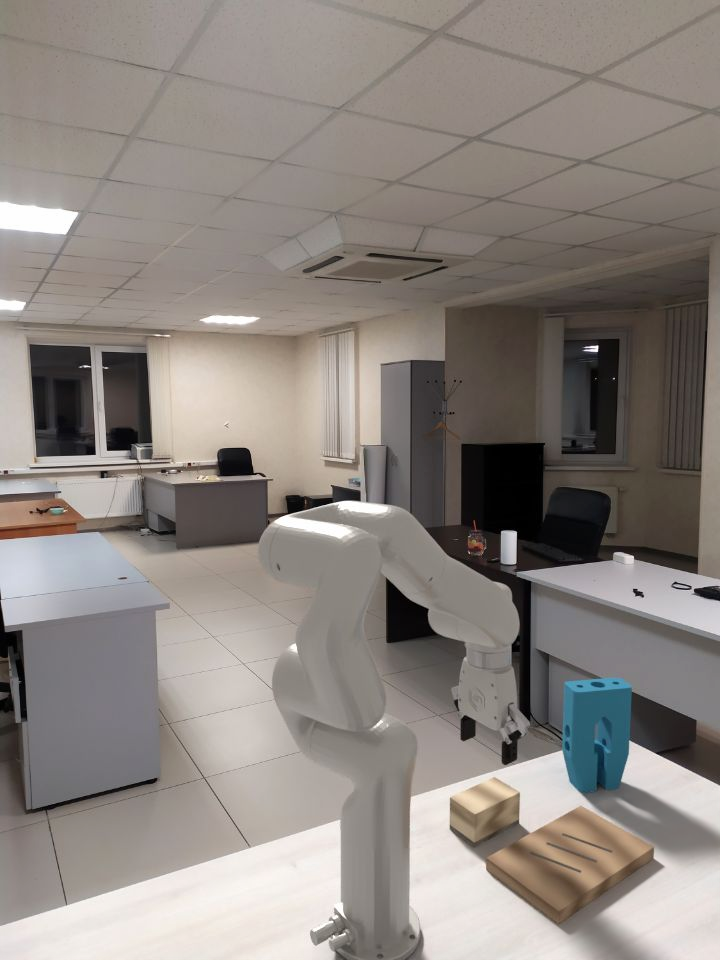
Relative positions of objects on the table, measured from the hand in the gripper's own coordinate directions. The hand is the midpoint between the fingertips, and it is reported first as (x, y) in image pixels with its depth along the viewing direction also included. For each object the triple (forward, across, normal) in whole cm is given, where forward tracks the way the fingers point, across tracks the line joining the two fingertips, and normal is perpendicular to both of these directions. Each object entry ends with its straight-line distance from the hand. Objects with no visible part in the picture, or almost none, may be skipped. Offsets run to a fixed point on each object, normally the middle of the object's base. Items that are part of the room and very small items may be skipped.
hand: (488, 749), depth 118 cm
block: (+15, +3, +26) cm, 30 cm away
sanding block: (+14, 0, -1) cm, 14 cm away
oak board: (+14, +15, +3) cm, 21 cm away
